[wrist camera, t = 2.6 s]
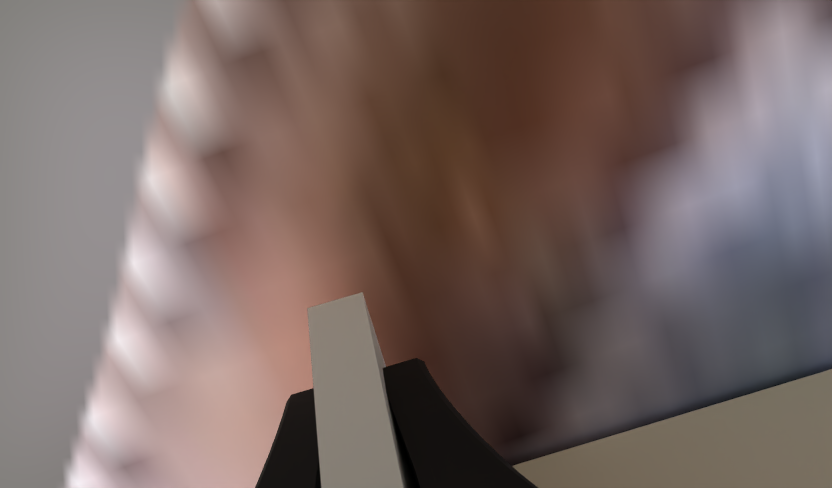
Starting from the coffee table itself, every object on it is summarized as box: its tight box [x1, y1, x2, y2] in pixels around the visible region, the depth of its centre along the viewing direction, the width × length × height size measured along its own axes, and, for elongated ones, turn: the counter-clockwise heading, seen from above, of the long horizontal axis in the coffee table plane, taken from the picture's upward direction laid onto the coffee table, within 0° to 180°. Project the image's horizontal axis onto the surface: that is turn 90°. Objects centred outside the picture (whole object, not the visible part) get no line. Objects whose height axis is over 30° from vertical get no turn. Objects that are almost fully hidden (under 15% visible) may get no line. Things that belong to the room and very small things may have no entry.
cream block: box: [307, 292, 832, 488], centre depth 14 cm, size 16×7×6 cm, turn 103°
